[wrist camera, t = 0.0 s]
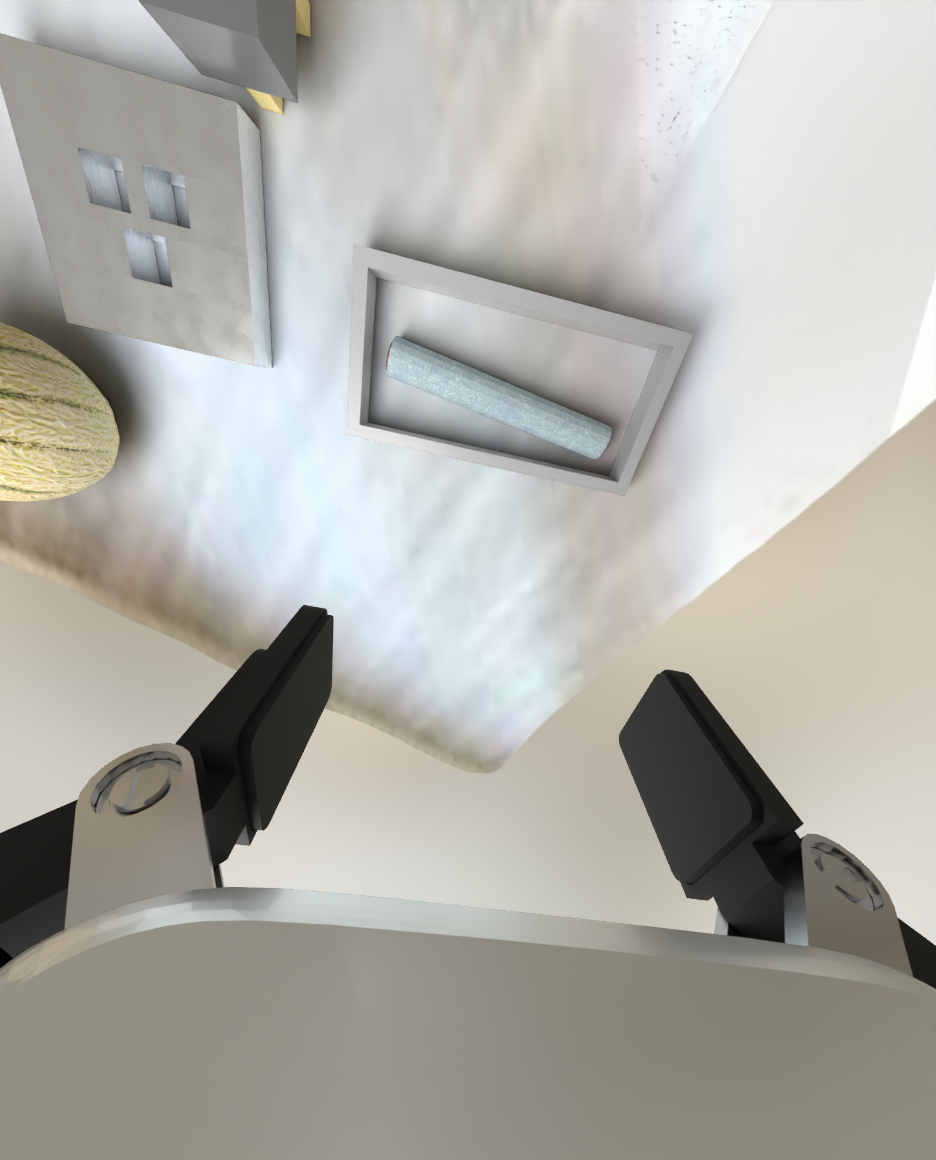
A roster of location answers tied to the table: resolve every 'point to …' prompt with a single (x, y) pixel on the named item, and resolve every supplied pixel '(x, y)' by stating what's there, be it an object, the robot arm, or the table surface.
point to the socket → (143, 201)
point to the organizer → (520, 302)
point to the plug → (240, 41)
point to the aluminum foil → (495, 398)
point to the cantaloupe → (49, 422)
